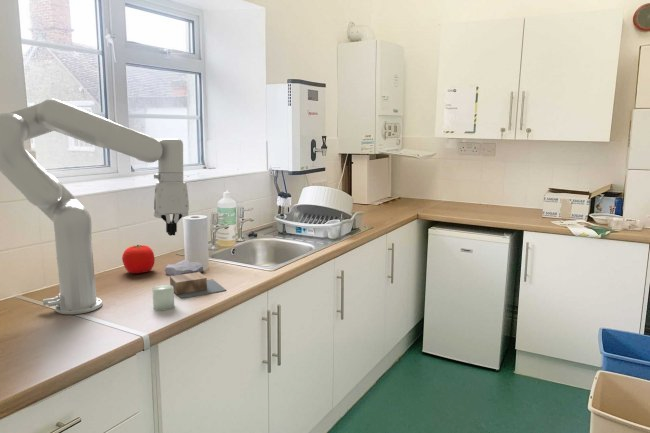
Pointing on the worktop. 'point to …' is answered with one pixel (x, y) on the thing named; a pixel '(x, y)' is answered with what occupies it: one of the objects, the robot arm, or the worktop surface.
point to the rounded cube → (163, 297)
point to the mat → (211, 288)
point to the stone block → (183, 268)
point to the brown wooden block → (188, 282)
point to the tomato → (138, 259)
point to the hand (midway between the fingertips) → (171, 234)
